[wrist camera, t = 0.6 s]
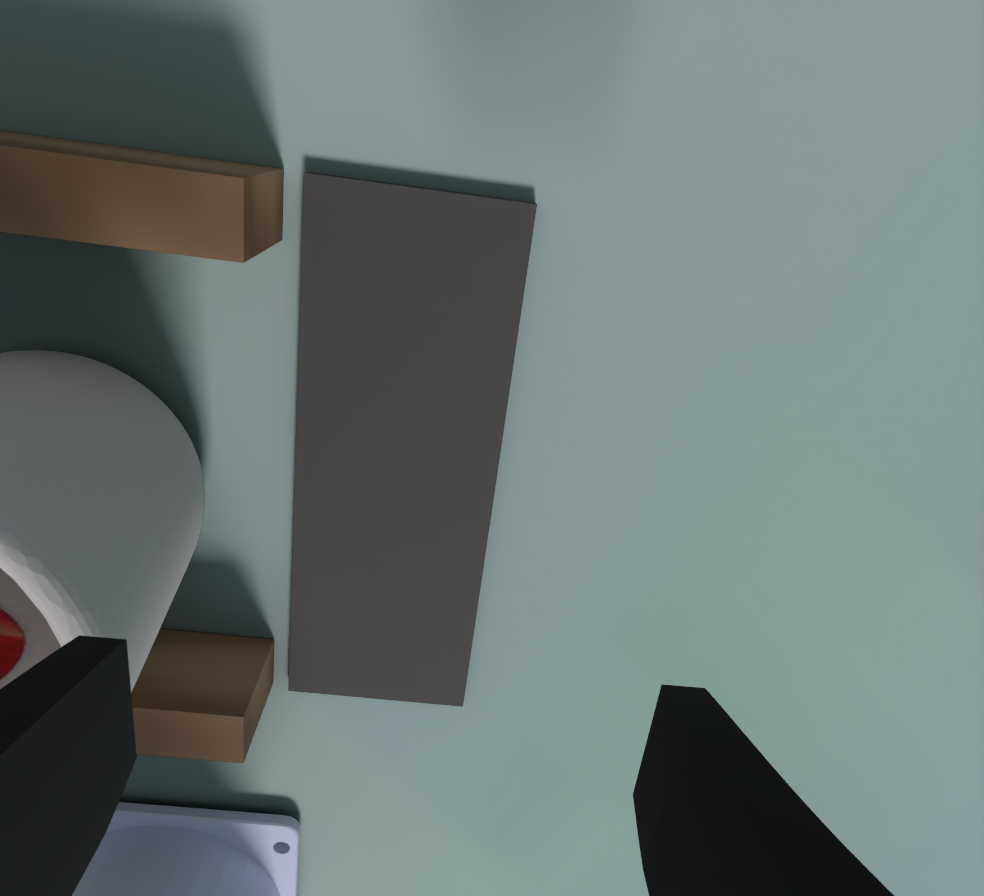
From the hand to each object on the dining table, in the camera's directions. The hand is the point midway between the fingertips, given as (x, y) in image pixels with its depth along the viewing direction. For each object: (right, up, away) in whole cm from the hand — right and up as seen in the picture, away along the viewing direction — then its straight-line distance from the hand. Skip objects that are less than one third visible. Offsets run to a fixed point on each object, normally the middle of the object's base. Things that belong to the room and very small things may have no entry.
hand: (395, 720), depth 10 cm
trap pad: (-1, +3, +9) cm, 9 cm away
